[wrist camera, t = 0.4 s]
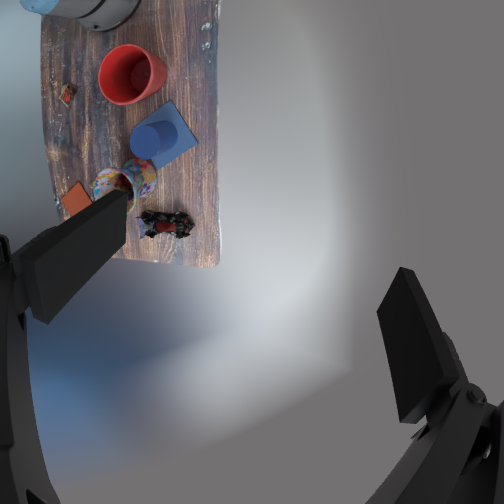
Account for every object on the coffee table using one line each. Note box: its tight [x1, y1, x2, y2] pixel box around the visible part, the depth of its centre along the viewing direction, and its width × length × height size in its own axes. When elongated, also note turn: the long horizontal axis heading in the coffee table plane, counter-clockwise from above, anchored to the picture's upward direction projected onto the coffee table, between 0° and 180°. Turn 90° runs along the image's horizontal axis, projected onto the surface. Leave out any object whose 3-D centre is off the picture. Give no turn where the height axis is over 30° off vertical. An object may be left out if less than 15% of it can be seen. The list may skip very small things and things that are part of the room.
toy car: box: [135, 210, 195, 239], centre depth 63 cm, size 6×12×4 cm, turn 90°
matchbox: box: [60, 84, 77, 108], centre depth 54 cm, size 5×5×1 cm
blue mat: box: [132, 100, 198, 170], centre depth 56 cm, size 10×10×1 cm
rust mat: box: [61, 182, 93, 216], centre depth 66 cm, size 8×8×1 cm
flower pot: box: [98, 44, 167, 105], centre depth 47 cm, size 11×11×10 cm
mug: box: [89, 158, 157, 214], centre depth 57 cm, size 12×9×11 cm
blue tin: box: [129, 121, 178, 159], centre depth 53 cm, size 6×6×8 cm
